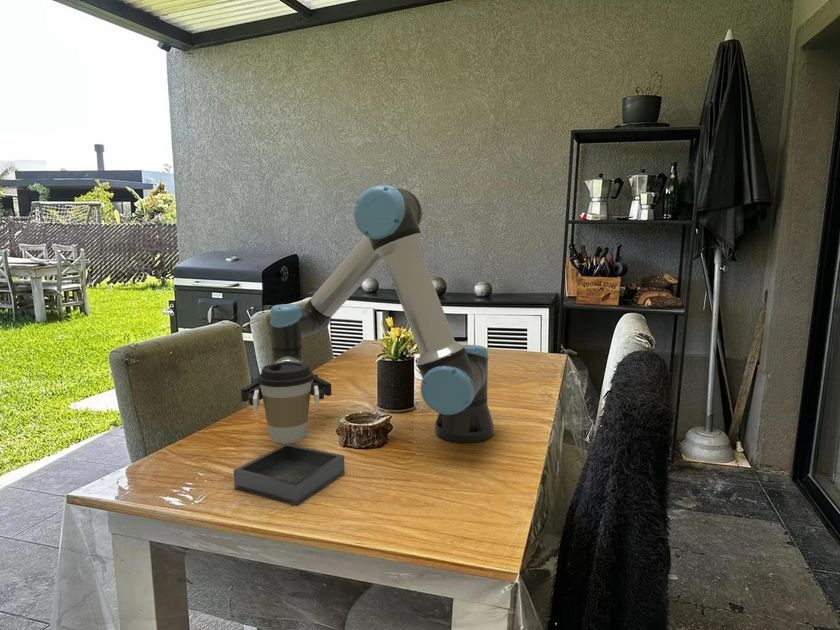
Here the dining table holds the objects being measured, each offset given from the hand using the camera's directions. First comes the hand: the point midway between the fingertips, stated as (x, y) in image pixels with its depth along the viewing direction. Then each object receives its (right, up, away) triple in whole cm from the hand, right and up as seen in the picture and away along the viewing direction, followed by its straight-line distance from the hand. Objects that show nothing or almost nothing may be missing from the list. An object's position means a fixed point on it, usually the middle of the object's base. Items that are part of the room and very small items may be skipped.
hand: (286, 403), depth 111 cm
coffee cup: (-1, -8, +5) cm, 10 cm away
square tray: (0, -17, +6) cm, 18 cm away
